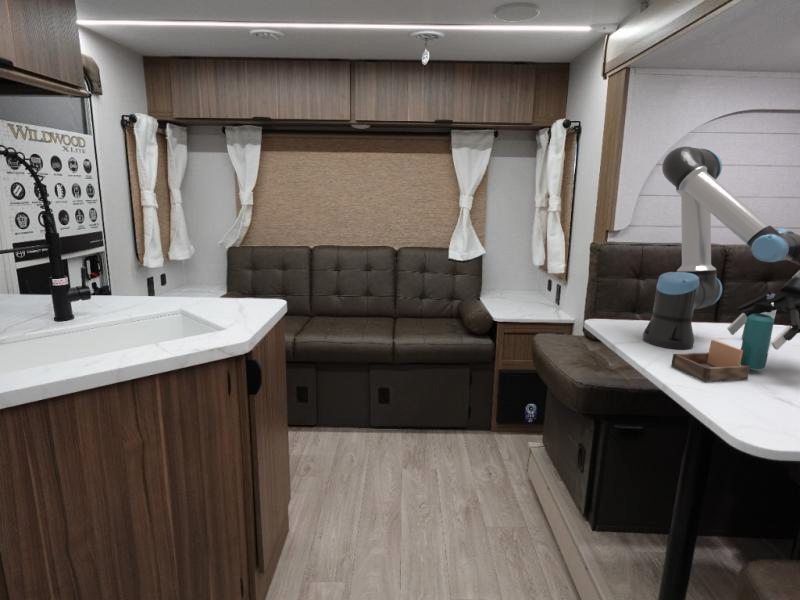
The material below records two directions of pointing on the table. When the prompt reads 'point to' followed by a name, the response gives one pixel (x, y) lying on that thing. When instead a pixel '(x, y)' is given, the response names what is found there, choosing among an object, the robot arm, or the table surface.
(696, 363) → the wooden tray
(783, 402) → the table surface
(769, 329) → the beverage bottle
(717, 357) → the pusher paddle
